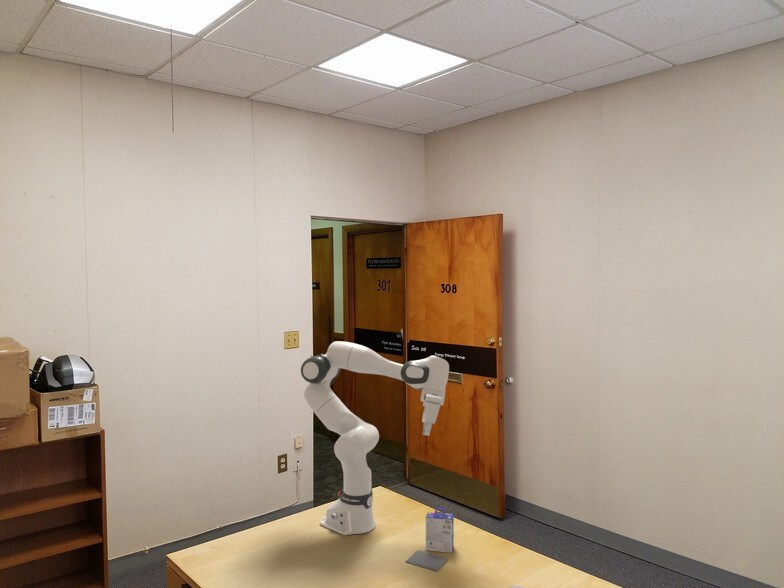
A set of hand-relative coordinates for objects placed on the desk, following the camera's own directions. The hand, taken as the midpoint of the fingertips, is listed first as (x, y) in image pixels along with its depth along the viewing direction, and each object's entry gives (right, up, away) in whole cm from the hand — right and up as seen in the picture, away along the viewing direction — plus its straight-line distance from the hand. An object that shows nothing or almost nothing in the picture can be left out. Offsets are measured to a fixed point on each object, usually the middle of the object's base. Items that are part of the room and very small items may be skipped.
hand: (425, 435), depth 206 cm
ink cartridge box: (+5, -40, -5) cm, 41 cm away
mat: (0, -40, -14) cm, 43 cm away
